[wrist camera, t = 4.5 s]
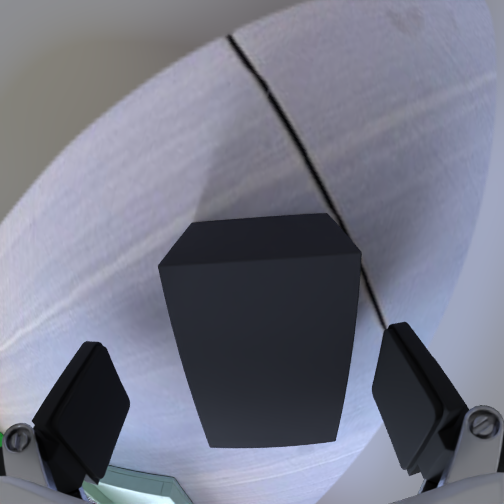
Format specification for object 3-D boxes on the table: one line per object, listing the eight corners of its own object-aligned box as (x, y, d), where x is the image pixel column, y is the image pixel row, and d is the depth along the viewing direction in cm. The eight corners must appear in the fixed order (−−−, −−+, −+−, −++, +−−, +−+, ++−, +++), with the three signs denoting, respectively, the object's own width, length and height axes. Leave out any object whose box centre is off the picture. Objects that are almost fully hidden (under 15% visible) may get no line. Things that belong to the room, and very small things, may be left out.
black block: (327, 212, 11) (362, 251, 7) (322, 376, 13) (335, 441, 10) (191, 222, 11) (156, 265, 7) (219, 382, 14) (209, 447, 10)
